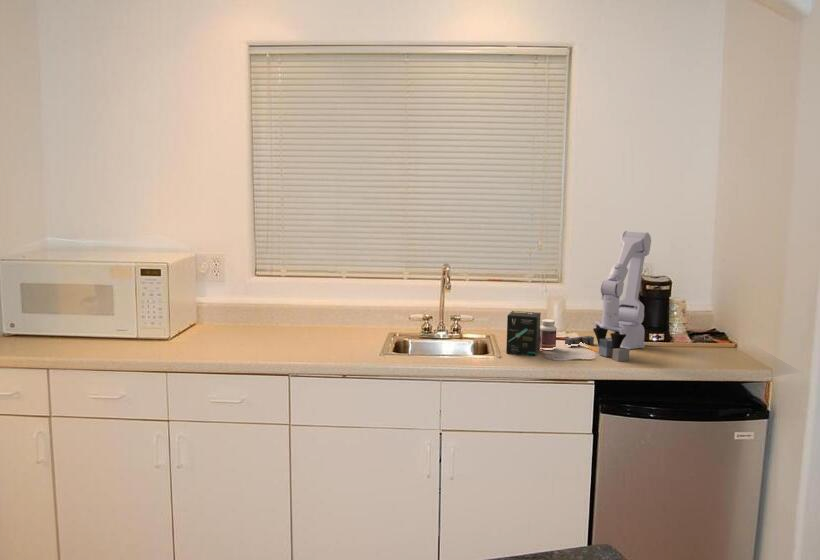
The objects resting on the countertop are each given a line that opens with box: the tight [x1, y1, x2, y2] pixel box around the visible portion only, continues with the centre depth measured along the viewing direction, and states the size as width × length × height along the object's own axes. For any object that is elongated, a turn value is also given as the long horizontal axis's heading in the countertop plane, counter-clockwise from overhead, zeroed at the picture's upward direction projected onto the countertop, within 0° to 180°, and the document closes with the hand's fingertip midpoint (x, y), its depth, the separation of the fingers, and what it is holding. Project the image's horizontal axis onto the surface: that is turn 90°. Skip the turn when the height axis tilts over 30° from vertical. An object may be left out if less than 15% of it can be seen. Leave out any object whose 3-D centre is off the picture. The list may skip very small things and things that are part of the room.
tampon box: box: [505, 310, 541, 357], centre depth 264 cm, size 11×9×15 cm
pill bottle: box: [540, 318, 557, 348], centre depth 269 cm, size 6×6×11 cm
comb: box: [564, 335, 595, 346], centre depth 276 cm, size 12×2×3 cm, turn 116°
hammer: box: [579, 342, 631, 362], centre depth 265 cm, size 5×26×4 cm, turn 26°
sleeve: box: [598, 337, 613, 358], centre depth 261 cm, size 5×4×6 cm
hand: (608, 349), depth 261 cm, fingers open, 7 cm apart
